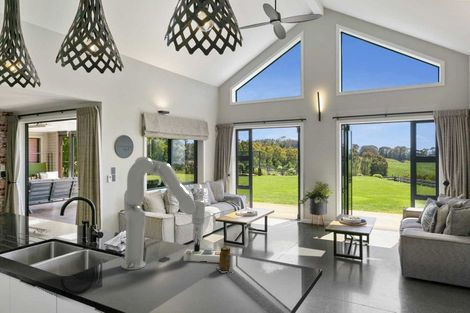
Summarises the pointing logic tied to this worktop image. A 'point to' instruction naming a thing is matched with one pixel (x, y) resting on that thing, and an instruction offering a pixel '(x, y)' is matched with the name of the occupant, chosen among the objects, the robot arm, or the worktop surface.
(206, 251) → the key slate
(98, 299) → the worktop surface
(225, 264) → the condiment
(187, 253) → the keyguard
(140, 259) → the robot arm
